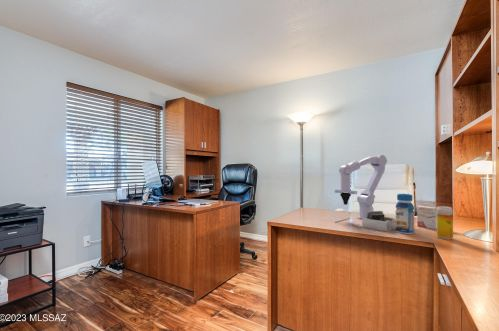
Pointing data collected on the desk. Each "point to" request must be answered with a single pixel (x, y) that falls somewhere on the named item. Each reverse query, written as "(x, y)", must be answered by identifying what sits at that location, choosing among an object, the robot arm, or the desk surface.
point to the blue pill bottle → (404, 214)
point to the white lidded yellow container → (444, 222)
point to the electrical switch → (375, 215)
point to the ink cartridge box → (426, 214)
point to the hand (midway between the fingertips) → (345, 204)
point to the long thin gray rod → (342, 220)
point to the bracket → (379, 223)
